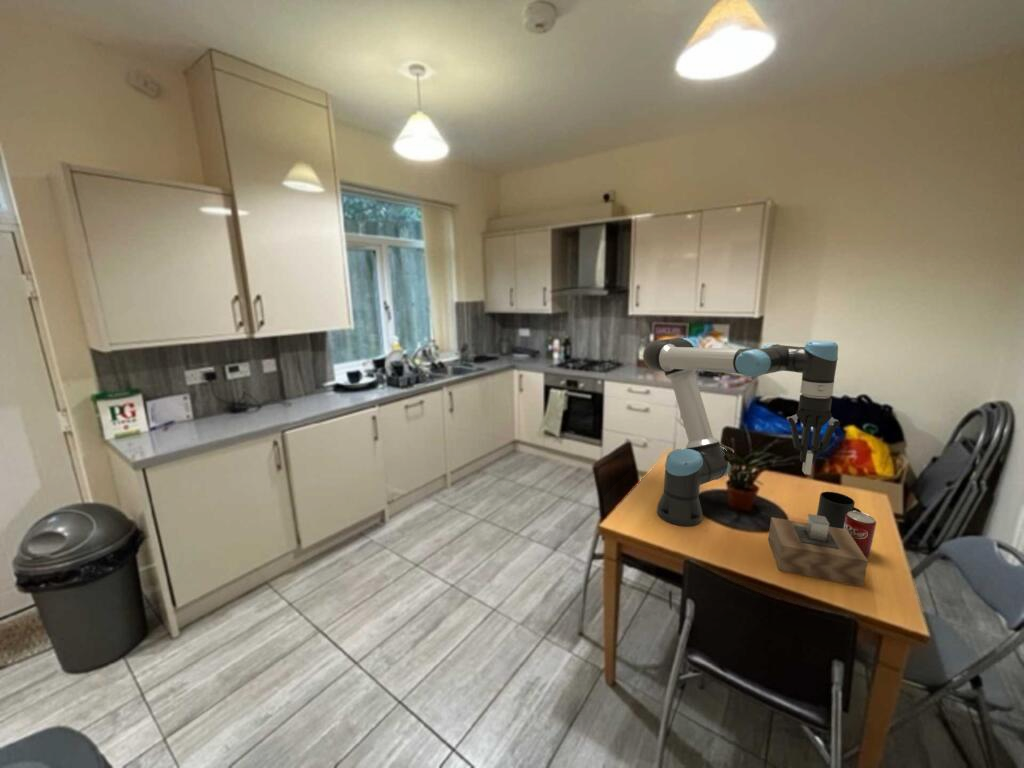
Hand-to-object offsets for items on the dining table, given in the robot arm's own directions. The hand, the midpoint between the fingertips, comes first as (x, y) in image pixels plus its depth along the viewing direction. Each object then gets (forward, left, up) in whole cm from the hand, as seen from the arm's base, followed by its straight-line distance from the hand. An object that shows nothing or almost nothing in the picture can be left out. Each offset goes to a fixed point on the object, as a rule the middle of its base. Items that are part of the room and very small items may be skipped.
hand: (806, 472), depth 126 cm
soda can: (+17, +5, -26) cm, 32 cm away
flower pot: (-18, +55, -26) cm, 64 cm away
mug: (+18, +23, -26) cm, 39 cm away
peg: (+4, -4, -20) cm, 21 cm away
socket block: (+4, -4, -26) cm, 27 cm away
